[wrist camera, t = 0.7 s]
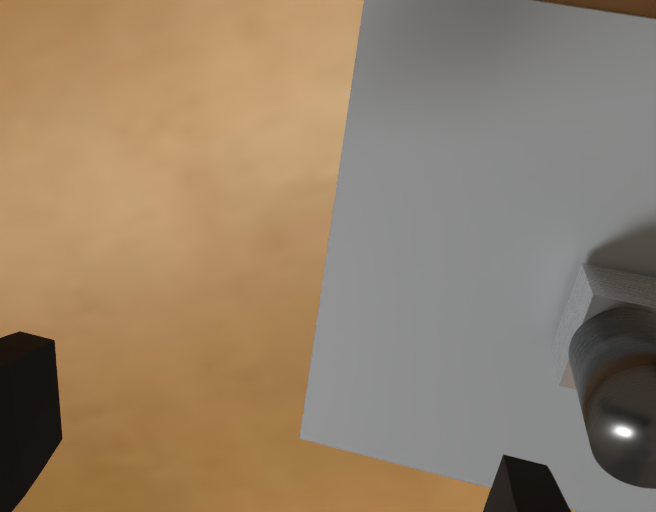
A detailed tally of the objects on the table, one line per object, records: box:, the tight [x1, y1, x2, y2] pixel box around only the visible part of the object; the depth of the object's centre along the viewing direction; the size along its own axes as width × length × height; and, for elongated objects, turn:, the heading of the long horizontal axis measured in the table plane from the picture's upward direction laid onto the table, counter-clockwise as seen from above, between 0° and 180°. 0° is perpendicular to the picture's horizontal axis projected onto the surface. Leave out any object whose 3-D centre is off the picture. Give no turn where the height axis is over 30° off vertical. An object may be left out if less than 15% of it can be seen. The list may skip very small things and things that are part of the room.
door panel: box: [300, 0, 656, 512], centre depth 14 cm, size 13×14×3 cm
